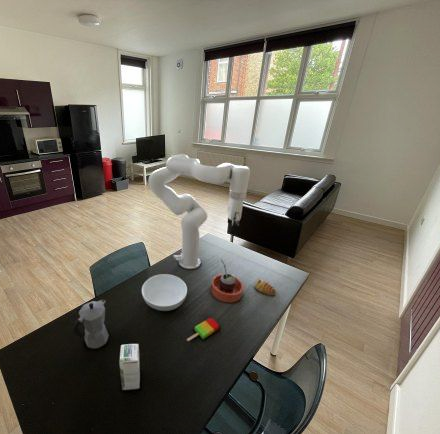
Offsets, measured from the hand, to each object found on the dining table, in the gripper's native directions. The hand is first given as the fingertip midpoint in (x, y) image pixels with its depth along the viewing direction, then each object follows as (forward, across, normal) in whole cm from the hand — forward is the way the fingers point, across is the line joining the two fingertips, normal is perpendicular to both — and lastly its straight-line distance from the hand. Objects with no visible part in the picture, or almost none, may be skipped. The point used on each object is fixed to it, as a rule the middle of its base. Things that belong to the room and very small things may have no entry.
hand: (232, 227), depth 115 cm
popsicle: (+30, +37, -14) cm, 49 cm away
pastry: (+29, +8, +18) cm, 35 cm away
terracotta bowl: (+29, +12, -1) cm, 32 cm away
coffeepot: (+30, +45, -55) cm, 77 cm away
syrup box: (+30, +58, -38) cm, 75 cm away
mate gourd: (+29, +11, -1) cm, 31 cm away
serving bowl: (+30, +21, -30) cm, 47 cm away
